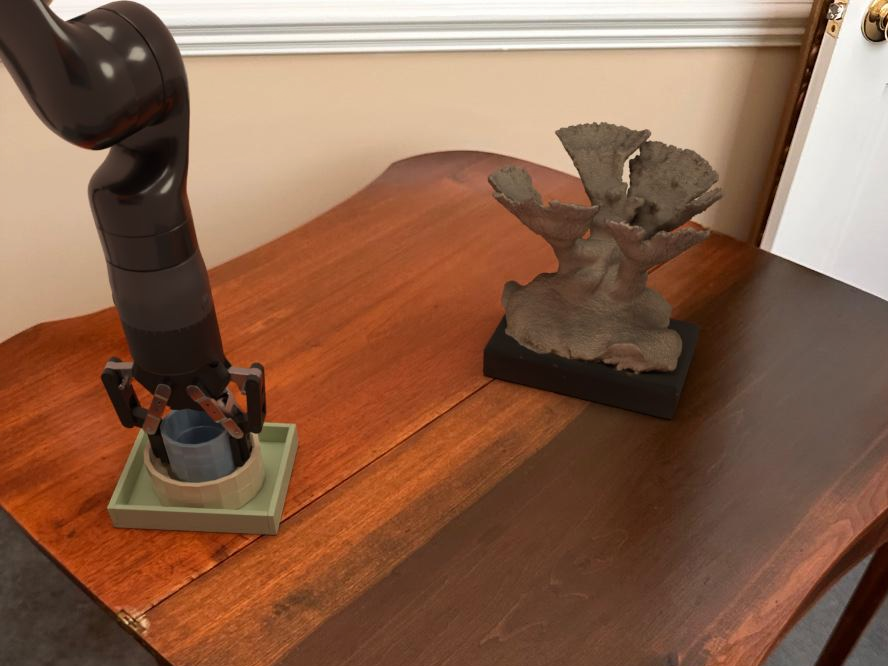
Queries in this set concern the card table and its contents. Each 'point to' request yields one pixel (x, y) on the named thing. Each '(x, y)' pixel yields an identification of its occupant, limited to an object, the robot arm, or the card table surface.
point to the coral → (604, 273)
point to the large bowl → (207, 483)
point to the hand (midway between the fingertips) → (205, 459)
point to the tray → (258, 516)
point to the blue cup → (197, 446)
